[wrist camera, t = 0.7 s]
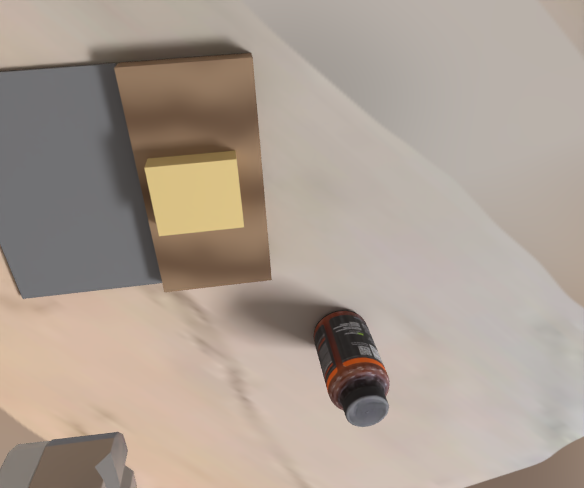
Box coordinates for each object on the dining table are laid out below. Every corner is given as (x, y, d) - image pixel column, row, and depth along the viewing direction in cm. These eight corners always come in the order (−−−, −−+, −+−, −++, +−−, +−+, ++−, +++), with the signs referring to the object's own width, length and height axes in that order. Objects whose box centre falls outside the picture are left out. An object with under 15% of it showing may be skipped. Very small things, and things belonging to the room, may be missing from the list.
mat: (-66, 76, 36) (-69, 77, 36) (116, 62, 37) (115, 63, 37) (24, 296, 46) (22, 298, 46) (164, 280, 47) (163, 282, 47)
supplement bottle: (318, 356, 55) (339, 441, 45) (307, 316, 52) (328, 399, 42) (369, 342, 55) (402, 425, 45) (362, 302, 52) (395, 381, 42)
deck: (118, 62, 37) (114, 67, 35) (250, 52, 38) (252, 57, 36) (166, 280, 47) (164, 292, 46) (269, 268, 48) (271, 279, 46)
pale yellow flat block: (147, 158, 39) (144, 167, 37) (235, 150, 40) (236, 159, 38) (161, 224, 42) (159, 236, 40) (243, 216, 43) (244, 227, 41)
